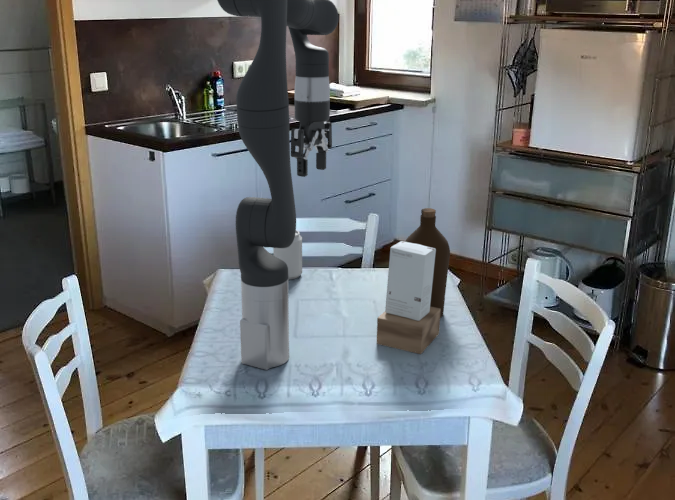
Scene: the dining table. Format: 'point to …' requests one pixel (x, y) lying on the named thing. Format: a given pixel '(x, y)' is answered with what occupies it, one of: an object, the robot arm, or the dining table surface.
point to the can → (292, 256)
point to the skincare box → (410, 280)
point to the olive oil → (434, 239)
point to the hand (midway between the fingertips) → (312, 172)
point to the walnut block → (408, 331)
